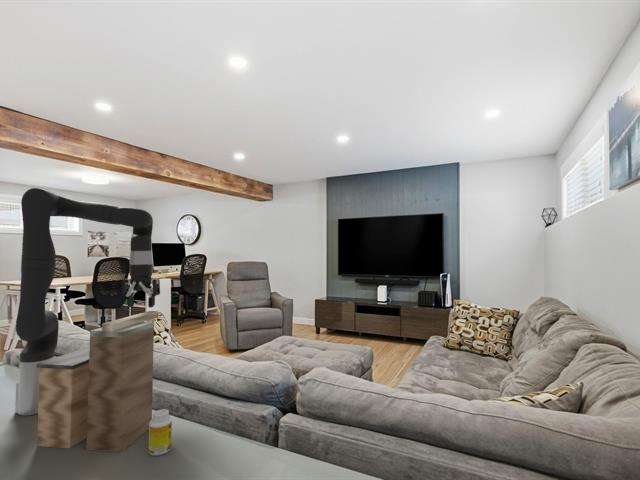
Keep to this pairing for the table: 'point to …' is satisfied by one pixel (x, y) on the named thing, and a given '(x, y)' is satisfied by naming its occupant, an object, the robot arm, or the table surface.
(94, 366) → the walnut stand
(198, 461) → the table surface
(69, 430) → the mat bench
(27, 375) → the robot arm
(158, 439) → the supplement bottle
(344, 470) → the table surface
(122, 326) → the slat
